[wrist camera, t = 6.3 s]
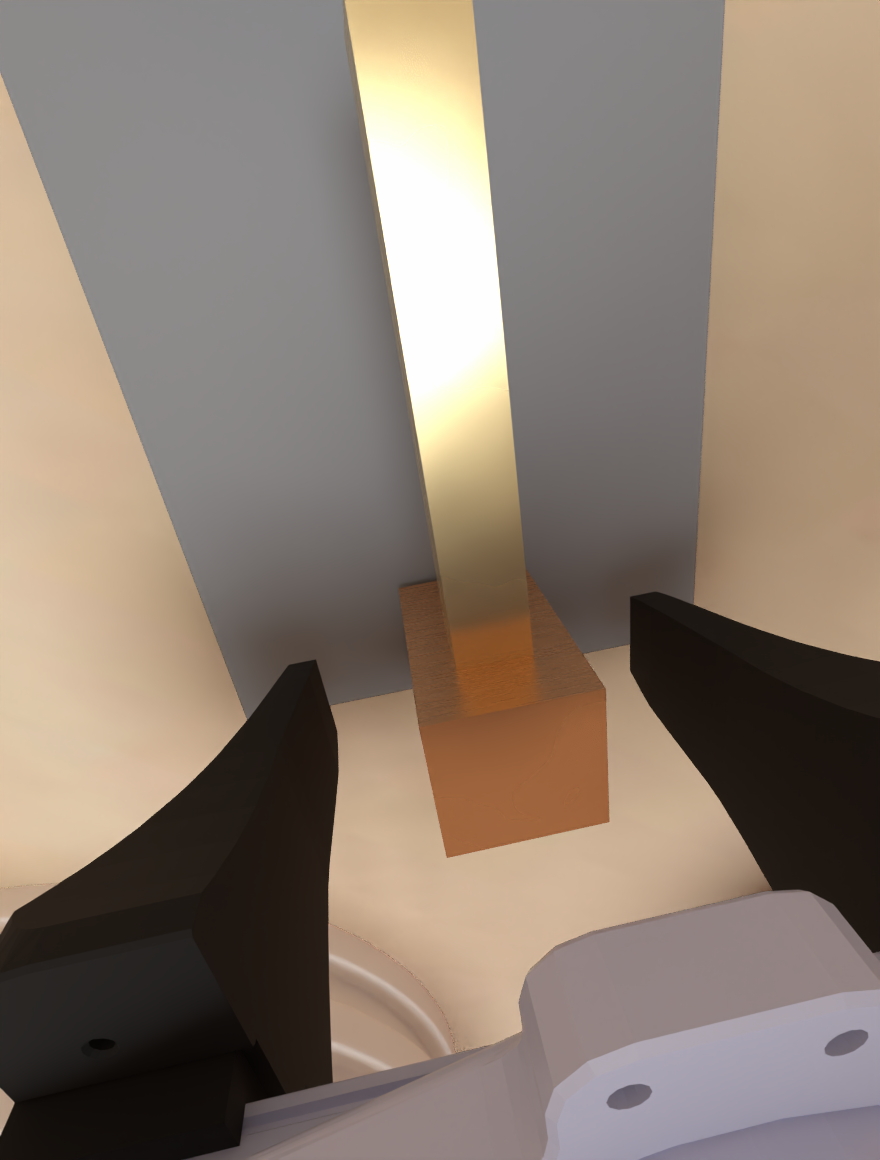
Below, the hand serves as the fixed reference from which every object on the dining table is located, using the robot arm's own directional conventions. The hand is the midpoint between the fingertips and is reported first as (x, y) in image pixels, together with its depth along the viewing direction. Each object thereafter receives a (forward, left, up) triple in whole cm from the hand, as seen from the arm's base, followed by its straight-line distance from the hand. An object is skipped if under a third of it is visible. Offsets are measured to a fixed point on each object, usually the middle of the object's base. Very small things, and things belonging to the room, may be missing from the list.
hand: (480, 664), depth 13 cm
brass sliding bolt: (0, -5, -1) cm, 5 cm away
